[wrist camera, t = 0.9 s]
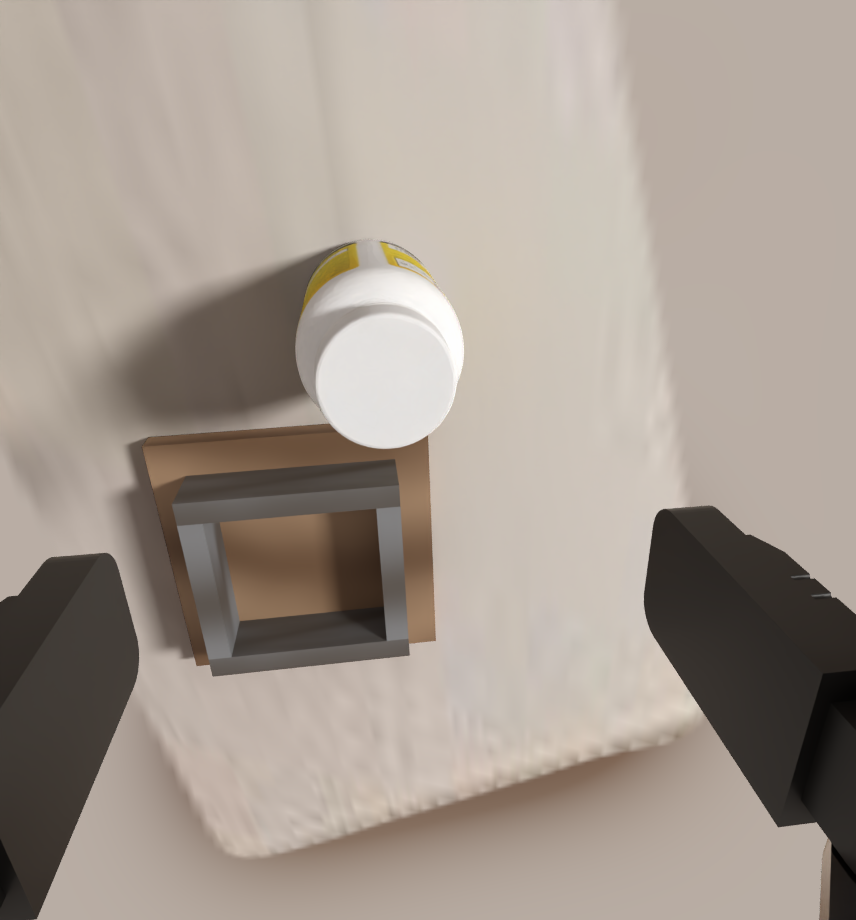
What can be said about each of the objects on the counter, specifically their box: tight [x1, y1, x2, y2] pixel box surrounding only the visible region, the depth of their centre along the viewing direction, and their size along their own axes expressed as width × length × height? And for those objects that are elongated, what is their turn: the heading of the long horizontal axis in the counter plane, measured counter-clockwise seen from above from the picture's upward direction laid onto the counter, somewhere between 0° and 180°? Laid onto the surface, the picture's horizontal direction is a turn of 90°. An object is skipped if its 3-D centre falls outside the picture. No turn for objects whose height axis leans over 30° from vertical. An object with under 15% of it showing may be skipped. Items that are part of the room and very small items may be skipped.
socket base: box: [142, 424, 436, 676], centre depth 29 cm, size 12×12×4 cm
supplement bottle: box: [295, 239, 464, 449], centre depth 22 cm, size 5×5×10 cm
